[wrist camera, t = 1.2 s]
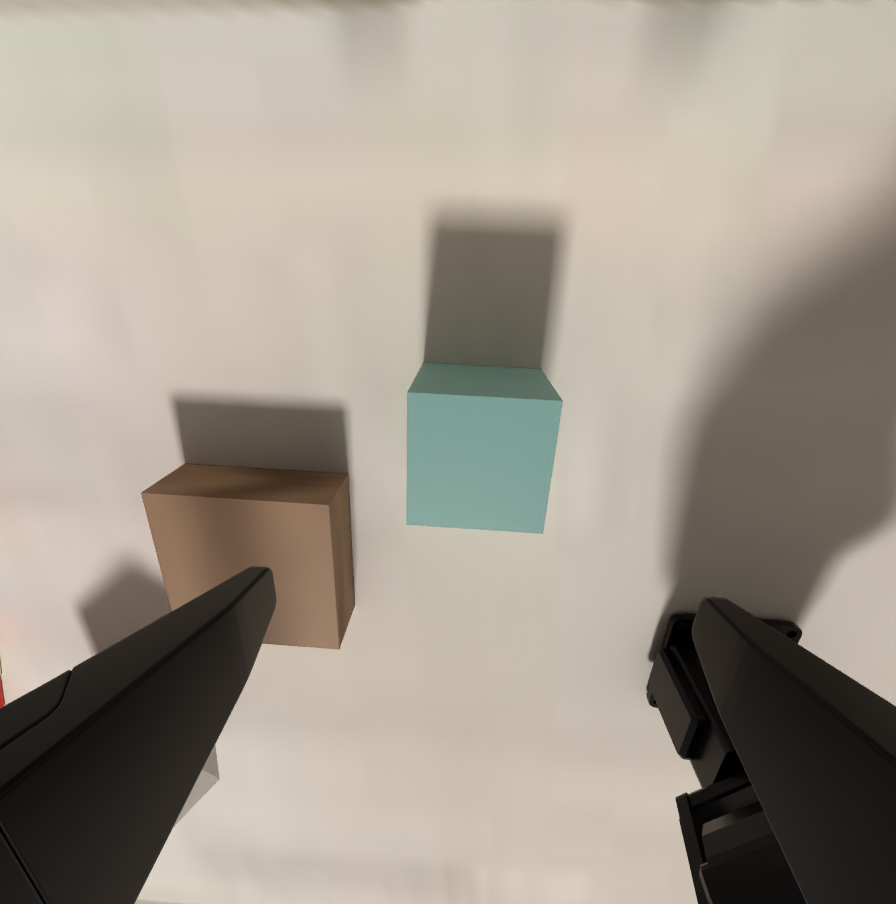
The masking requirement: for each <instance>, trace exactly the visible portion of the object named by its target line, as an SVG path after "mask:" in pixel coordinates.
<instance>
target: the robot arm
mask: <svg viewBox="0 0 896 904" xmlns="http://www.w3.org/2000/svg"><path fill="white" fill-rule="evenodd" d="M275 607H276V591H275V584H274V577H273V572H272V570H271V569H270V568H269V567H260V566H251V567H249V568H247V569H245V570H243V571H242V572H240V573H238V574H236V575H235V576H233V577H231V578H229V579H228V580H226V581H224V582H222V583H221V584H219V585H217V586H215V587H214V588H212V589H210V590H208V591H207V592H205V593H203V594H201V595H200V596H198V597H196V598H194V599H193V600H191V601H189V602H187V603H186V604H184V605H182V606H180V607H179V608H177V609H175V610H173V611H172V612H170V613H168V614H166V615H165V616H163V617H161V618H159V619H158V620H156V621H154V622H152V623H151V624H149V625H147V626H145V627H144V628H142V629H140V630H138V631H136V632H135V633H133V634H131V635H129V636H128V637H126V638H124V639H122V640H121V641H119V642H117V643H115V644H114V645H112V646H110V647H108V648H107V649H105V650H103V651H101V652H100V653H98V654H96V655H94V656H93V657H91V658H89V659H87V660H86V661H84V662H82V663H80V664H79V665H77V666H75V667H74V668H73V669H72V671H70V670H68V671H66V672H64V673H63V674H61V675H59V676H57V677H56V678H54V679H52V680H50V681H49V682H47V683H45V684H43V685H42V686H40V687H38V688H36V689H34V690H33V691H31V692H29V693H27V694H25V695H23V696H22V697H20V698H18V699H16V700H14V701H13V702H11V703H9V704H7V705H5V706H4V707H2V708H0V904H134V903H135V901H136V899H137V897H138V896H139V894H140V892H141V890H142V888H143V886H144V884H145V882H146V880H147V878H148V876H149V874H150V872H151V870H152V868H153V866H154V864H155V862H156V860H157V858H158V856H159V854H160V852H161V850H162V848H163V846H164V844H165V842H166V840H167V838H168V836H169V834H170V832H171V830H172V828H173V826H174V824H175V822H176V820H177V818H178V816H179V815H180V813H181V811H182V809H183V807H184V805H185V803H186V801H187V799H188V797H189V795H190V793H191V791H192V789H193V787H194V785H195V783H196V781H197V779H198V777H199V775H200V773H201V771H202V769H203V767H204V765H205V763H206V761H207V759H208V757H209V755H210V753H211V751H212V749H213V747H214V745H215V743H216V741H217V739H218V737H219V736H220V734H221V732H222V730H223V728H224V726H225V724H226V722H227V720H228V718H229V716H230V714H231V712H232V710H233V708H234V706H235V704H236V702H237V700H238V698H239V696H240V694H241V692H242V690H243V688H244V686H245V684H246V682H247V680H248V678H249V675H250V673H251V670H252V668H253V665H254V663H255V660H256V658H257V655H258V652H259V650H260V647H261V644H262V642H263V639H264V637H265V634H266V631H267V629H268V626H269V624H270V621H271V618H272V616H273V613H274V610H275ZM680 623H682V624H680ZM801 636H802V630H801V629H800V628H799V627H798V626H797V625H796V624H795V623H794V622H791V621H780V620H766V619H758V618H756V617H754V616H753V615H751V614H750V613H748V612H747V611H745V610H743V609H742V608H740V607H739V606H737V605H736V604H734V603H732V602H731V601H729V600H728V599H725V598H718V597H705V598H703V599H702V600H701V602H700V604H699V608H698V611H697V614H682V613H681V614H676V615H673V616H672V617H671V618H670V620H669V623H668V626H667V630H666V633H665V636H664V639H663V643H662V646H661V648H660V650H659V651H658V652H657V656H656V659H655V662H654V665H653V669H652V672H651V675H650V679H649V682H648V684H649V688H648V691H647V699H648V702H649V704H650V705H651V706H652V707H656V708H659V711H660V713H661V716H662V718H663V720H664V723H665V725H666V727H667V730H668V732H669V735H670V737H671V739H672V742H673V744H674V746H675V749H676V751H677V753H678V754H679V756H680V757H681V758H682V759H687V760H690V762H691V764H692V766H693V769H694V771H695V773H696V775H697V778H698V780H699V782H700V784H701V787H702V788H701V789H699V790H697V791H695V792H693V793H690V794H688V793H684V794H682V795H680V796H677V797H676V803H677V808H678V812H679V816H680V819H679V820H680V825H681V830H682V834H683V839H684V843H685V847H686V852H687V856H688V861H689V865H690V870H691V874H692V878H693V883H694V887H695V892H696V896H697V901H698V904H896V706H894V705H893V704H891V703H890V702H888V701H886V700H885V699H883V698H882V697H880V696H879V695H877V694H875V693H874V692H872V691H871V690H869V689H868V688H866V687H864V686H863V685H861V684H860V683H858V682H857V681H855V680H853V679H852V678H850V677H849V676H847V675H846V674H844V673H842V672H841V671H839V670H838V669H836V668H835V667H833V666H831V665H830V664H828V663H827V662H825V661H824V660H822V659H820V658H819V657H817V656H816V655H814V654H813V653H811V652H809V651H808V650H806V649H805V648H803V647H802V646H800V645H798V642H799V640H800V638H801Z"/></svg>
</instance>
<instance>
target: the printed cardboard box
mask: <svg viewBox="0 0 896 904" xmlns="http://www.w3.org/2000/svg"><path fill="white" fill-rule="evenodd" d="M0 676H1V665H0ZM2 707H4V701H3V695H2V688H1V679H0V708H2Z"/></svg>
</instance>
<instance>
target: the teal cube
mask: <svg viewBox="0 0 896 904" xmlns="http://www.w3.org/2000/svg"><path fill="white" fill-rule="evenodd" d="M562 402H563V401H562V399H561V398H560V396H559V395H558V393H557V392H556V390H555V389H554V387H553V386H552V385H551V383H550V382H549V380H548V379H547V377H546V376H545V374H544V373H543V371H542V370H541V369H533V368H514V367H496V366H477V365H458V364H440V363H423V364H422V366H421V368H420V370H419V372H418V374H417V376H416V377H415V379H414V381H413V383H412V385H411V387H410V388H409V390H408V392H407V520H406V525H420V526H435V527H450V528H465V529H480V530H495V531H510V532H525V533H541V534H543V530H544V523H545V517H546V510H547V503H548V496H549V490H550V483H551V476H552V470H553V463H554V456H555V449H556V443H557V436H558V429H559V423H560V416H561V409H562Z"/></svg>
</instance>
